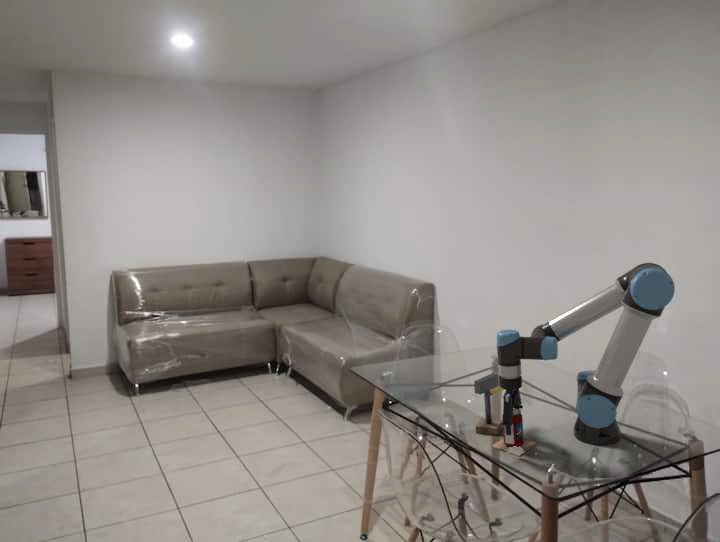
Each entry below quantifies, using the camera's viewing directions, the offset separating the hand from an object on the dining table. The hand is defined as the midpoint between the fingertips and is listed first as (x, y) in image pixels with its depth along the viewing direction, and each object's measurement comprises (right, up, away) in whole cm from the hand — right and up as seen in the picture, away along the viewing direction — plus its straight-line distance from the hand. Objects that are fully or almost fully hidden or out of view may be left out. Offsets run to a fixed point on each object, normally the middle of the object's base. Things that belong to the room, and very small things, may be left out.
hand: (513, 434), depth 200 cm
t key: (-3, +1, +17) cm, 17 cm away
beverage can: (0, -4, +1) cm, 4 cm away
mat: (0, -4, +1) cm, 4 cm away
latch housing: (-5, -2, +16) cm, 16 cm away
